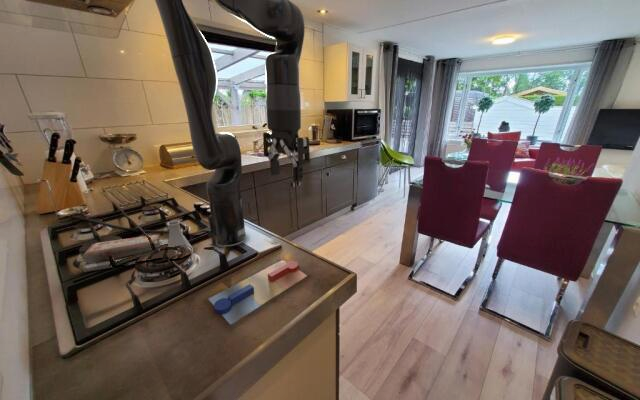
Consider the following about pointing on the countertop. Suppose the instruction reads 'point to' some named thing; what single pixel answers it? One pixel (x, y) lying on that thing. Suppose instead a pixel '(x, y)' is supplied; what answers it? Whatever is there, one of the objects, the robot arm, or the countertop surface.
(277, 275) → the red spoon
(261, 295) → the sorting mat
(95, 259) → the packaged product
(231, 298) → the blue spoon
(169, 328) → the countertop surface
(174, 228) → the flask
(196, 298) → the countertop surface
